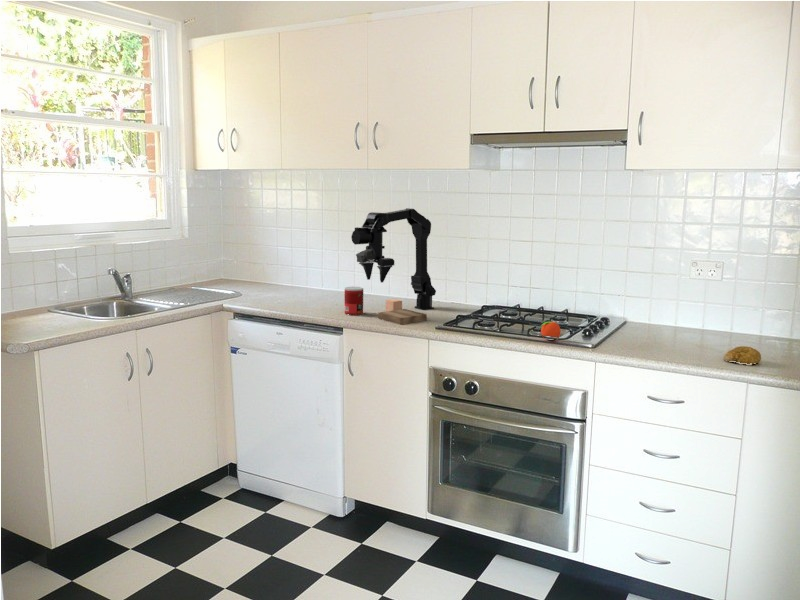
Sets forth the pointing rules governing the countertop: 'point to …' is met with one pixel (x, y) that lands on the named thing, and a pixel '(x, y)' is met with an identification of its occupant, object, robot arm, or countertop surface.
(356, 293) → the canned food
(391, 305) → the block
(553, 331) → the clementine
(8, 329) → the countertop surface
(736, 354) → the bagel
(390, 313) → the base board
